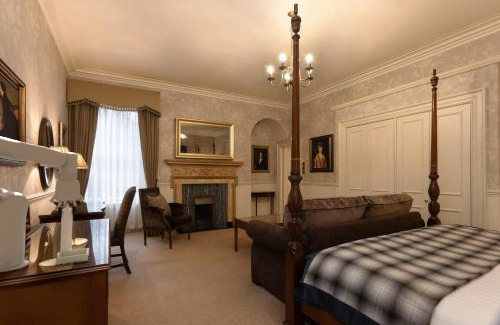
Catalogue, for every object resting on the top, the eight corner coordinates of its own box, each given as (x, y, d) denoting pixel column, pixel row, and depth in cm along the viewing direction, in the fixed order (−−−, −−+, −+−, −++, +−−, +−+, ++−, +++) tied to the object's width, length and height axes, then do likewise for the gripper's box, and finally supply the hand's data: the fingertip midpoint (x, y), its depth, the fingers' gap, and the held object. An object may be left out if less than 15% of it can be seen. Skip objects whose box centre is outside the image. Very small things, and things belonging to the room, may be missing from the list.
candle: (54, 255, 129) (55, 203, 130) (69, 251, 135) (71, 201, 136) (62, 257, 126) (63, 204, 127) (77, 253, 132) (79, 202, 133)
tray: (87, 261, 120) (87, 254, 120) (56, 265, 115) (56, 258, 115) (88, 254, 131) (89, 247, 131) (60, 257, 125) (60, 251, 125)
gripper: (45, 177, 124) (44, 217, 123) (88, 177, 133) (87, 214, 133) (47, 177, 130) (46, 215, 130) (87, 177, 140) (87, 212, 139)
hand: (67, 214), depth 131 cm, fingers closed on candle, 4 cm apart
